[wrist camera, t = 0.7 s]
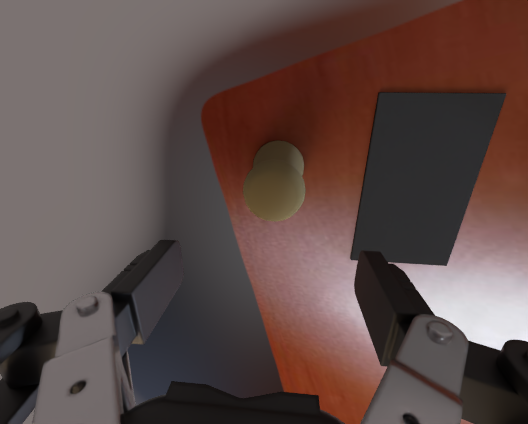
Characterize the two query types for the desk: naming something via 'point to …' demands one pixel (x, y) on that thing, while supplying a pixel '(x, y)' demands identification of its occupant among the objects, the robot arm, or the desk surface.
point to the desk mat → (422, 173)
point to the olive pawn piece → (275, 182)
